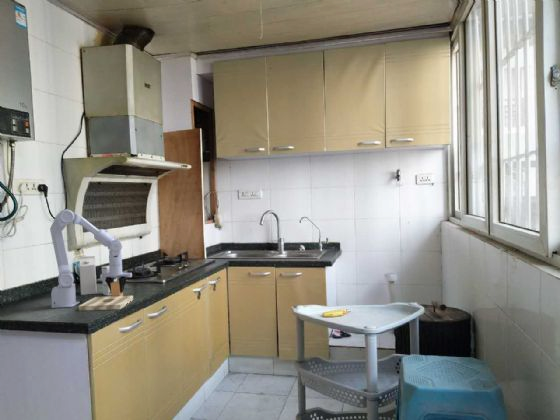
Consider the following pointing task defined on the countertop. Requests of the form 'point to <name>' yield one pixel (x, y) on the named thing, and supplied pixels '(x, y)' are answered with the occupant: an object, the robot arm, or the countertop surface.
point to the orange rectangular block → (115, 289)
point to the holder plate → (106, 303)
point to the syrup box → (105, 286)
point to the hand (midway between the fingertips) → (117, 292)
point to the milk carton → (87, 275)
